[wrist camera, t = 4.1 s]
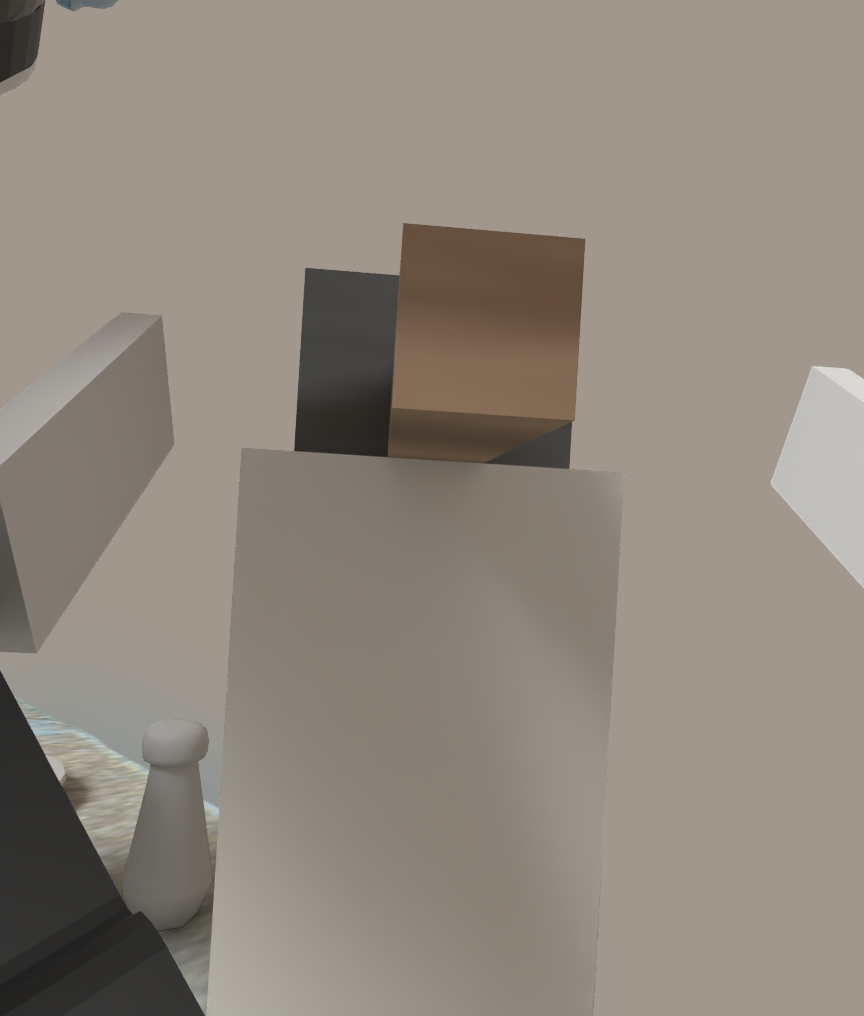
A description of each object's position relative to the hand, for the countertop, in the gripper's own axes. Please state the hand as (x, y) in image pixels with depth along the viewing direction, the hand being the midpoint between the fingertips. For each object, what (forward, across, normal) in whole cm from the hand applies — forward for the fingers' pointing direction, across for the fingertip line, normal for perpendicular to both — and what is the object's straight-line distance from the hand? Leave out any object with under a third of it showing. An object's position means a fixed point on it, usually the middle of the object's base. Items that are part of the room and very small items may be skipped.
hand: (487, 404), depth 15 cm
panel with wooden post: (+5, 0, -4) cm, 6 cm away
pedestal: (-3, 0, -34) cm, 34 cm away
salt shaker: (+16, -15, -45) cm, 50 cm away
